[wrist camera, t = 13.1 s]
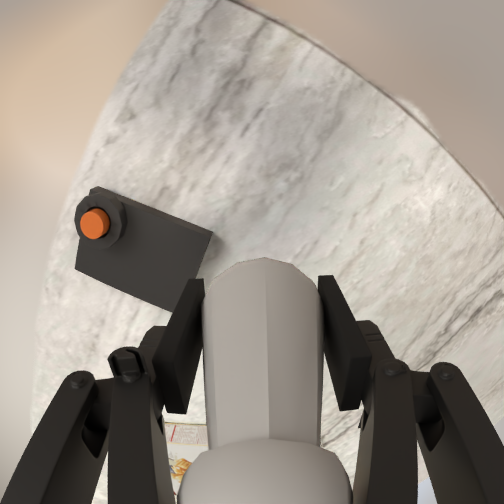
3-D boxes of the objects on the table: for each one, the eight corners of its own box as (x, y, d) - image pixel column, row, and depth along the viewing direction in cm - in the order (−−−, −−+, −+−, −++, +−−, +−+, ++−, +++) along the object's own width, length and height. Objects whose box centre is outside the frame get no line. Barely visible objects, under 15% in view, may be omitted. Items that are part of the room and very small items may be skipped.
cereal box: (295, 499, 44) (152, 495, 45) (293, 477, 49) (157, 474, 51) (297, 446, 38) (114, 439, 39) (294, 418, 43) (124, 416, 44)
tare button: (85, 229, 29) (77, 233, 28) (90, 204, 29) (83, 207, 27) (106, 238, 30) (100, 243, 28) (112, 213, 29) (105, 217, 27)
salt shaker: (251, 353, 18) (242, 570, 6) (186, 284, 17) (90, 516, 4) (335, 302, 17) (417, 527, 5) (275, 220, 15) (319, 480, 3)
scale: (79, 262, 34) (65, 273, 31) (96, 182, 31) (80, 187, 28) (184, 307, 36) (177, 323, 33) (214, 228, 33) (209, 239, 29)
